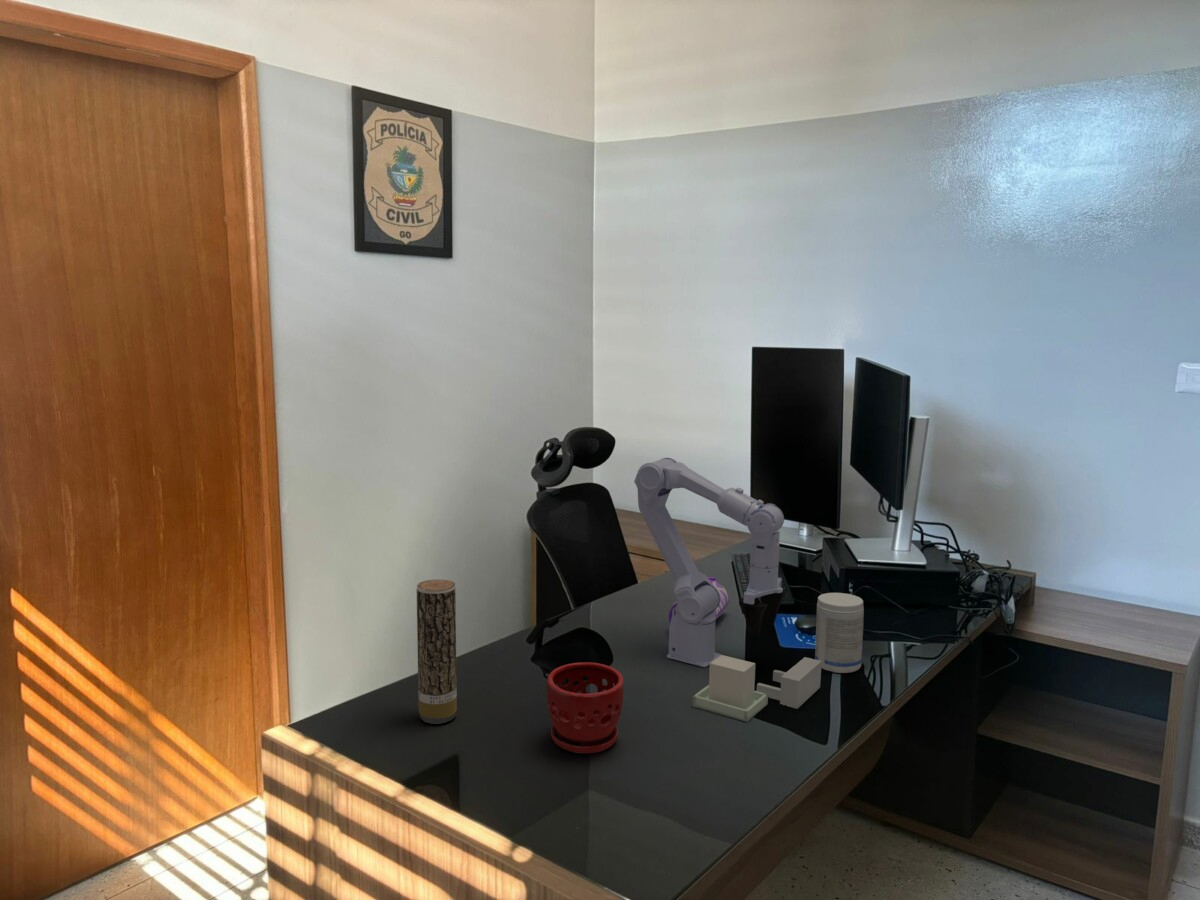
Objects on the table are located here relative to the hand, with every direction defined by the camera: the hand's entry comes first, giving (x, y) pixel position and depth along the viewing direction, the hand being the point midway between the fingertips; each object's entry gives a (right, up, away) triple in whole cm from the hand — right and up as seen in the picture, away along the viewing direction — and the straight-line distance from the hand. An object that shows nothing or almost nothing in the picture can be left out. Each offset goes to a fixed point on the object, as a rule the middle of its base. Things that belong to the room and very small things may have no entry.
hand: (761, 628), depth 181 cm
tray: (-9, -12, -14) cm, 20 cm away
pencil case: (-9, -5, +29) cm, 31 cm away
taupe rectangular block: (-8, -11, -15) cm, 20 cm away
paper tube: (-63, -12, -21) cm, 67 cm away
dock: (+4, -11, -8) cm, 14 cm away
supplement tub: (+17, -9, +5) cm, 20 cm away
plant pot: (-36, -14, -30) cm, 48 cm away
